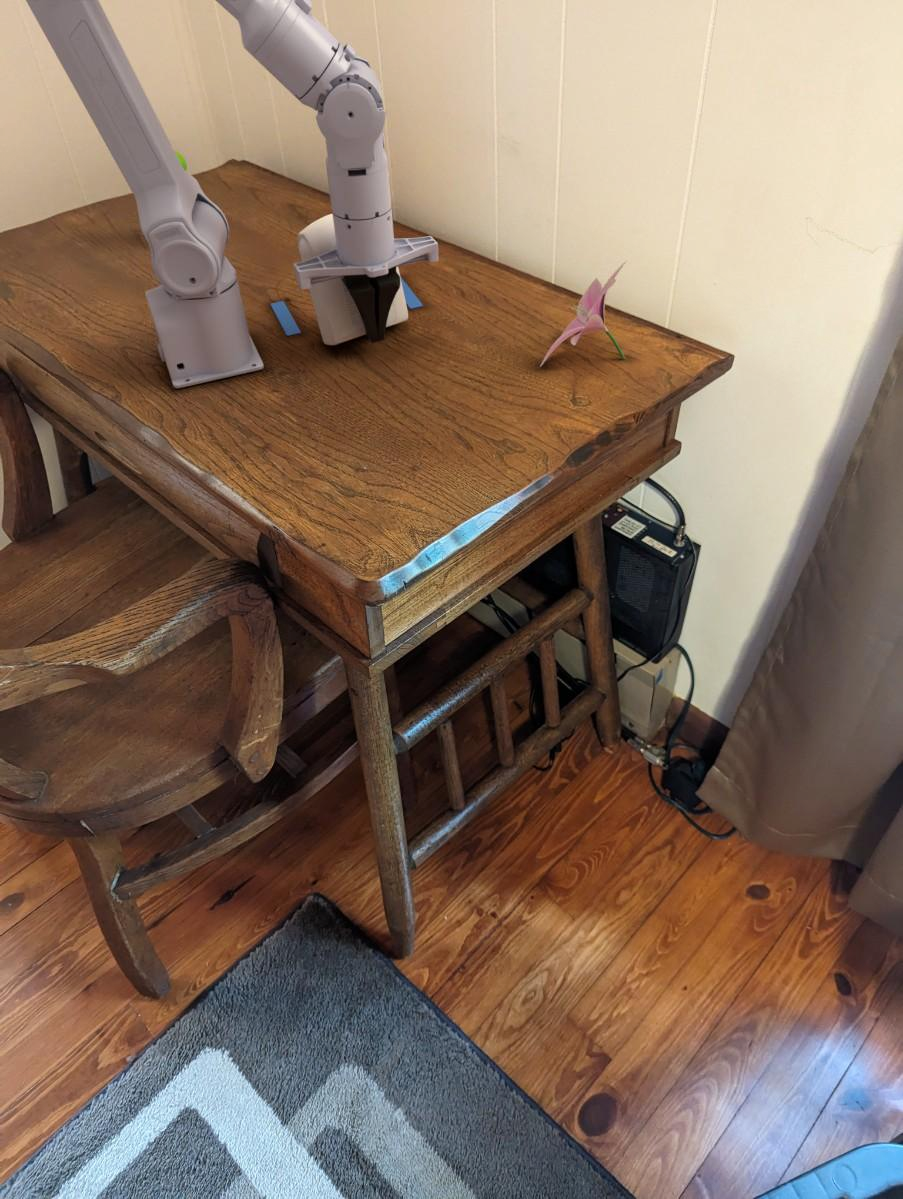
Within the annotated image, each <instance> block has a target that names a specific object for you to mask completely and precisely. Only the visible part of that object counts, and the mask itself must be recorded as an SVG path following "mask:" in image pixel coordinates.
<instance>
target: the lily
mask: <svg viewBox="0 0 903 1199" xmlns="http://www.w3.org/2000/svg"><path fill="white" fill-rule="evenodd" d="M626 263H627V261H624V262H623V263H622V264H621V265H620V266H619V267H618V268H617V269H616V270H615V271H614V272H613V273H612V275H610V277H609V278H608V279H607V280H606V282H605V283H604V285H603V286H602V283H601V281H600V280H599V279H598V278H597V277H596V278H594V279H593V281H591V283H590V284H589V286H588V287H587V289H586V290H585V292H584V293H583V295H582V296H581V298H580V300H579V302H578V303H577V302H575V304H576V305H574V304H571V306H572V307H568V310H573V311H575V312H576V316H575V317H574V318H573V319H572V320H571V322H570V323H568V325H567V326H566V327H565V328H564V330H563V332H562V333H561V335H560V336H559V337H557V339H556V340H555V341H554V342H553V344H551V346H550V348H549V350H547V353H546V354H545V355H544V357H543V360H542V361H541V363H540V366H539V367H540V368H541V367H542V366H543V365H544V363H545V362H546V361H547V360H548V358H549V357H550V356H551V354H552V353H554V351H555V350H556V349H557V347H559V346H560V345H561V344H562V343H563V342H564V341H566V340H567V339H568V338H570V337H571V336H573V337H571V339H570V343H571V345H572V346H576V345H577V344H578V341H579V339H580V336H583V335H586V334H591V333H594V332H600V331H603V332H604V333H605V334H606V335H607V336H608V338H609V339H610V340H611V342H612V343H613V345H614V346H615V348H616V350H617V351H618V354H619V355H620V358H621V359H622V360H625V359H626V357H625V354H624V353H623V351H622V349H621V347H620V345H619V344H618V342H617V341H616V339H615V337H614V336H613V335H612V333H611V332H610V331H609V330H608V327H606V324H605V306H606V298H607V294H608V292H609V290H610V289H611V288H612V287H613V286H614V285H615V283H616V282H617V279H615V278H616V277H617V276H618V274H619V273H620V271H621V270H622V269H623V267H624V266H625V264H626Z"/></svg>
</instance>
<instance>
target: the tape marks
mask: <svg viewBox="0 0 903 1199" xmlns="http://www.w3.org/2000/svg"><path fill="white" fill-rule="evenodd" d="M401 282H402V287H403V292H404V296H405V301H406V306H407V308H408V309H410V310H412V309H418V308H422V307H424V304H423V302H421V300H420V299H419V298H418V297H417V296H416V294H415V293H414V292H413V290H412V289H411V288H410V286H408V284H407V283H406V281H404V279H403V278H402V277H401ZM269 306H270V307H271V309H272V310H273V312H274V315H275V316H276V318H277V320H278V322H279V324H280V326H281V328H282V329H283V332H284V333H285V335H286V337H290V336H291V337H292V336H295V335H300V334H302V332H301V329H300V328H299V326H298V325H297V323H296V320H295V319H294V318H293V315H292V314H291V312H290V310H289V308H288V306H287V304H286V302H285V301H284V300H281V301H277V302H273V303H270V305H269Z"/></svg>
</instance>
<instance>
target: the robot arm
mask: <svg viewBox="0 0 903 1199" xmlns="http://www.w3.org/2000/svg"><path fill="white" fill-rule="evenodd" d="M215 1H216V2H217V3H218V4H219V5H220V6H221V7H222V8H223V9H224V10H225V11H227V13H229V14H230V15H231V16H232V17H233V18H234V19H235V20H236V21H237V22H238V25H239V28H240V36H241V44H242V47H243V48H244V50H245V51H247V52H248V53H249V55H251V56H252V57H253V59H255V60H256V61H257V62H258V63H259V64H260V65H261V66H262V67H263V68H264V69H265V70H266V71H267V72H268V73H269V74H271V75H272V76H273V78H275V80H277V81H278V82H279V83H280V84H281V85H282V86H283V87H284V88H285V89H286V90H287V91H289V93H291V95H292V96H294V97H295V99H297V101H298V102H300V103H301V104H302V105H303V106H307V107H309V108H311V109H312V110H314V111H317V114H316V115H315V119H316V124H317V127H318V129H319V131H320V133H321V134H322V136H323V138H325V139H324V140H325V147H326V154H327V155H326V158H325V168H326V176H327V184H328V191H329V199H330V206H331V214H332V215H333V222H334V230H335V238H336V245H337V249H334V250H332V251H329V252H327V253H324V254H322V255H319V256H317V257H314V258H312V259H309V260H306V261H302V260H301V261H299V262H298V261H297V262H294V263H293V270H294V275H295V276H294V277H295V281H296V284H297V286H298V287H299V289H300V290H301V291H304V290H309V288H311V285H313V284H318V283H323V282H328V281H332V280H337V279H342V281H343V283H344V284H345V286H346V288H347V289H348V291H349V293H350V294H351V296H352V298H353V300H354V302H355V304H356V306H357V308H358V311H359V313H360V315H361V318H362V321H363V324H364V327H365V331H366V334H365V335H366V337H367V338H368V339H369V341H370V343H372V344H374V343H377V342H382V341H385V339H386V329H387V327H386V324H387V319H388V315H389V311H390V308H391V305H392V302H393V300H394V298H395V295H396V293H397V292H398V290H399V288H400V277H401V275H400V276H399V275H398V273H397V272H396V267H398V268H399V267H404V266H409V265H412V264H417V263H423V262H427V263H428V264H433V263H437V262H439V261H440V260H439V243H438V242H437V240H435V239H434V237H433V236H432V235H428V236H420V237H407V238H406V237H405V238H395V233H394V221H393V211H392V200H391V199H392V196H391V185H390V173H389V159H388V155H387V152H386V150H384V149H385V147H386V138H385V136H386V135H385V133H384V128H385V124H386V118H387V116H386V115H387V114H386V111H385V110H384V101H383V91H382V86H381V82H380V80H379V78H378V76H377V74H376V73H375V71H374V69H373V68H372V67H371V65H370V63H369V61H368V60H367V59H365V58H363V57H362V56H359V55H357V53H356V50H355V49H354V47H352V45H350V43H346V44H344V45H343V44H341V42H340V41H339V40H337V38H336V37H335V36H333V34H332V33H331V32H330V31H329V30H328V29H327V28H326V27H325V26H324V25H323V24H322V22H321V21H319V19H317V17H315V16H314V15H313V13H312V12H311V11H312V8H313V2H312V1H311V0H215ZM25 2H26V3H27V6H28V7H29V9H30V11H31V12H32V14H33V16H34V18H35V20H36V21H37V23H38V25H39V27H40V29H41V30H42V32H43V34H44V36H45V38H46V40H47V41H48V43H49V45H50V46H51V49H52V50H53V53H54V54H55V56H56V57H57V60H58V61H59V63H60V65H61V67H62V68H63V70H64V72H65V74H66V75H67V77H68V79H69V81H70V83H71V85H72V87H73V88H74V90H75V92H76V93H77V96H78V97H79V99H80V101H81V102H82V105H83V106H84V108H85V110H86V111H87V114H88V115H89V117H90V119H91V120H92V122H93V124H94V127H95V128H96V130H97V131H98V133H99V135H100V137H101V138H102V140H103V142H104V144H105V146H106V147H107V149H108V151H109V153H110V154H111V157H112V158H113V160H114V162H115V164H116V165H117V168H118V170H119V171H120V173H121V175H122V176H123V179H124V180H125V182H126V183H127V185H128V187H129V189H130V191H131V193H132V195H133V196H134V198H135V202H136V203H135V204H136V206H137V212H138V218H139V225H140V230H141V233H142V234H143V236H144V238H145V240H146V242H147V244H148V246H149V250H150V256H151V258H150V259H151V267H152V271H153V273H154V276H155V277H156V279H157V280H158V282H159V283H160V285H158V286H156V287H154V288H151V289H147V290H145V291H144V295H145V298H146V302H147V305H148V308H149V311H150V314H151V318H152V321H153V325H154V328H155V331H156V335H157V338H158V342H159V343H158V344H157V345H156V346H157V349H158V353H159V356H160V359H161V362H162V363H165V365H166V367H167V370H168V374H169V377H170V380H171V383H172V387H173V388H175V389H182V388H186V387H190V386H195V385H198V384H204V383H209V382H213V381H218V380H222V379H226V378H230V377H234V376H239V375H243V374H247V373H248V374H249V373H252V372H256V371H257V372H258V371H260V370H263V369H264V367H265V366H264V362H263V360H262V358H261V356H260V354H259V352H258V349H257V348H256V345H255V343H254V340H253V339H252V337H251V335H250V332H249V327H248V323H247V317H246V313H245V309H244V303H243V300H242V294H241V289H240V286H239V281H238V276H237V271H236V269H235V267H234V266H233V265H232V264H231V262H230V261H229V260H228V258H227V255H225V250H226V246H227V245H228V242H229V238H230V225H229V222H228V219H227V217H226V215H225V213H224V212H223V211H222V209H221V208H220V207H219V206H218V205H217V204H215V203H214V202H213V201H212V200H211V199H210V198H209V197H208V196H207V195H206V194H205V193H204V191H203V190H202V188H201V186H200V183H199V181H198V180H197V179H196V178H195V177H194V176H193V175H192V174H191V173H189V171H187V170H186V171H185V170H184V169H183V167H182V165H181V163H180V161H179V159H178V157H177V155H176V153H175V151H176V150H175V149H174V148H173V146H172V143H171V141H170V139H169V138H168V136H167V133H166V132H165V129H164V128H163V125H162V124H161V121H160V119H159V117H158V116H157V114H156V112H155V109H154V108H153V105H152V104H151V102H150V100H149V98H148V96H147V94H146V92H145V90H144V88H143V86H142V84H141V81H140V80H139V78H138V76H137V73H136V72H135V70H134V68H133V66H132V64H131V62H130V60H129V58H128V55H127V54H126V52H125V50H124V48H123V46H122V44H121V42H120V40H119V38H118V36H117V34H116V32H115V30H114V28H113V27H112V24H111V22H110V20H109V18H108V16H107V14H106V12H105V10H104V9H103V6H102V5H101V2H100V0H25Z"/></svg>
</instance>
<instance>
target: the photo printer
mask: <svg viewBox="0 0 903 1199" xmlns="http://www.w3.org/2000/svg"><path fill="white" fill-rule="evenodd" d="M297 247H298V248H297V249H298V252H299V256H300V260H301V262H302V261H306V260H309V259H312V258H314V257H317V256H319V255H322V254H324V253H327V252H329V251H332V250H334V249H337V245H336V238H335V230H334V222H333V215H332V213H330V214H327V215H324V216H322V217H320V218H318V219H317V220H314V221H313V222H312V223H310V224H309V225H307V226H305V227H304V228H303V229H302V230H300V231H299V233H298V234H297ZM396 272H397V273H398V275H399V276H400V288H399V290H398V292H397V293H396V295H395V298H394V300H393V302H392V305H391V308H390V311H389V315H388V319H387V324H386V328H389V327H391V326H394V325H397V324H400V323H401V324H402V323H403V322H407V321H408V320H409V311H408V305H407V304H406V301H405V296H404V292H403V287H402V282H401V278H402V276H401V274H400V269H399V267H396ZM308 291H309V294H310V298H311V301H312V305H313V306H312V307H313V309H314V313H315V318H316V320H317V324H318V327H319V328H318V329H319V332H320V334H321V339H322V342H323V343H324V344H325V345H326V346H337V345H339V344H342V343H344V342H349V341H350V340H354V339H356V338H357V339H358V338H359V337H363V336H365V335H366V331H365V327H364V324H363V321H362V318H361V315H360V313H359V311H358V308H357V306H356V304H355V302H354V300H353V298H352V296H351V294H350V293H349V291H348V289H347V288H346V286H345V284H344V283H343V281H342V279H337V280H332V281H328V282H323V283H318V284H313V285H311V288H309V289H308Z"/></svg>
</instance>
